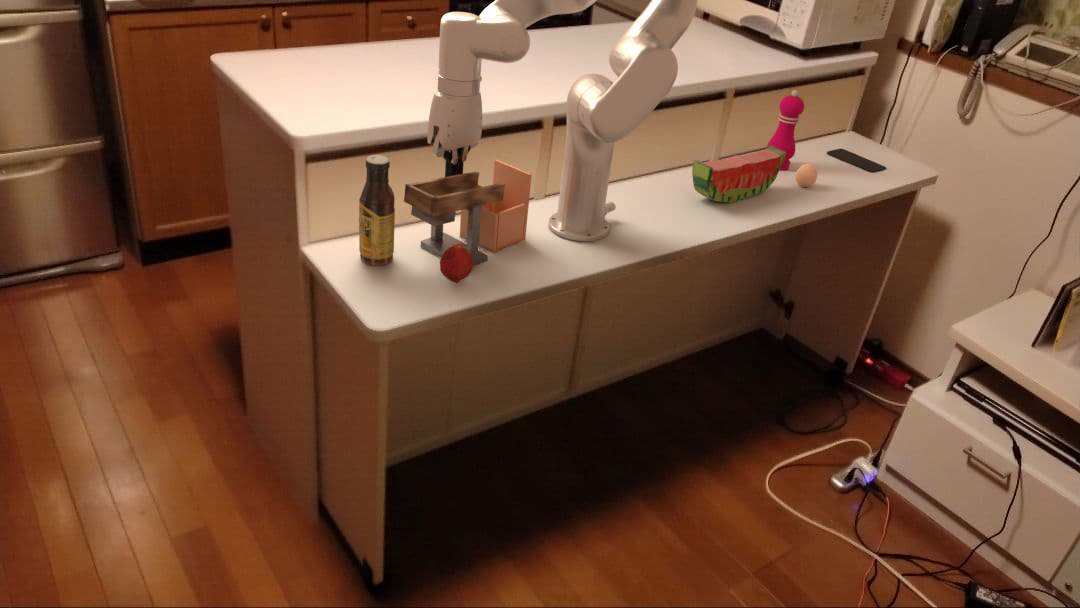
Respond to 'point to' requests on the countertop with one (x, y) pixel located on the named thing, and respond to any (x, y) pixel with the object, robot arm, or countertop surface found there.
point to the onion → (456, 263)
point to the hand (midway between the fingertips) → (453, 180)
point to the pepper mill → (787, 126)
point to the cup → (503, 210)
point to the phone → (856, 160)
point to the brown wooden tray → (449, 196)
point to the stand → (444, 241)
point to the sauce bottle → (376, 214)
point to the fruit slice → (737, 175)
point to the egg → (806, 175)
